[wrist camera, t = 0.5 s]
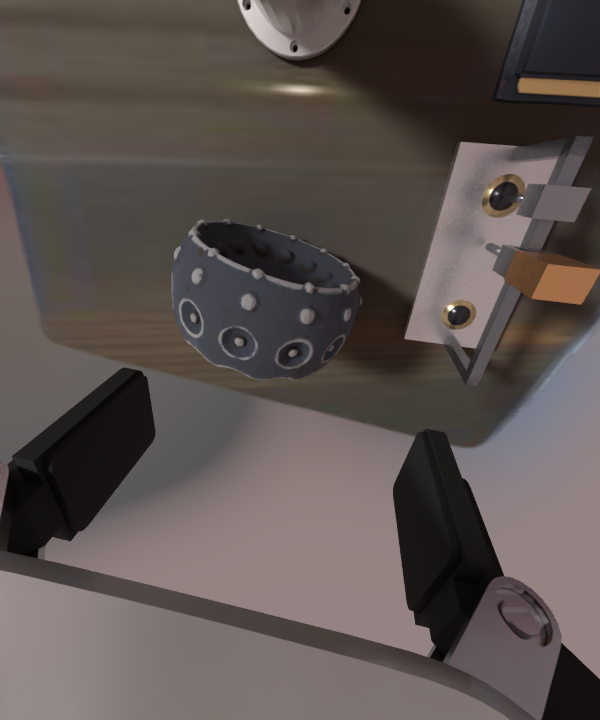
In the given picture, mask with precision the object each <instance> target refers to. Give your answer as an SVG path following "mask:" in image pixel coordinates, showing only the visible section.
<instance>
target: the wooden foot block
mask: <svg viewBox="0 0 600 720" xmlns="http://www.w3.org/2000/svg"><path fill="white" fill-rule="evenodd" d="M519 247H520V246H512V245H502V246H501V247H500V246H498V245H496V244H494V243H488V244H487V245H486V247H485V249H486V250H487V251H489V252H491V253H493V254H494V255H496V256H497V259H496V261H495V264H494V266H493V269H492V270H493V271H494V272H496V273H497V274H499V275H500V276H502V277H503V278H504V281H506V282H507V283H509V284H510V285H512V286H513V287H515V288H516V289H518V290H519V291H521V292H522V293H523V294H525V295H526V296H528V297H529V298H531V299H538V300H547V301H555V302H563V303H572V304H580V305H581V304H582V303H583V301H584V299H585V298H586V296H587V294H588V293H589V291H590V289H591V287H592V286H593V284H594V282H595V281H596V279H597V277H598V276H599V274H600V269H598V268H595V267H593V266H590V265H587V264H585V263H582V262H579V261H577V260H574V259H571V258H568V257H566V256H563V255H559V254H553V253H550V252H547V251H545V250H542V249H541V251H540V252H530V251H522V250H520V249H519Z"/></svg>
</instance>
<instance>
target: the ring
mask: <svg viewBox="0 0 600 720" xmlns="http://www.w3.org/2000/svg"><path fill="white" fill-rule="evenodd" d="M174 260H175V261H174V265H173V270H172V304H173V312H174V316H175V319H176V322H177V325H178V327H179V329H180V331H181V333H182V335H183V337H184V339H185V340H186V342H187V343H188V344H190V345H192V346H193V347H194V348H195V349H196V350H197V351H198V352H200V353H201V354H202V355H203V356H204V357H205V358H206V360H207V361H209V362H211V363H212V364H214V365H216V366H218V367H226V368H231V369H234V370H237V371H240V372H242V373H244V374H245V375H247V376H248V377H250V378H252V379H257V380H266V379H271V378H287V379H290V380H297V379H301V378H303V377H306V376H308V375H310V374H312V373H314V372H316V371H318V370H320V369H321V368H322V367H324V366H325V365H326V364H327V363H328V362H330V361H331V360H332V358H333V357H334V356H335V355H336V354H337V353H338V352H339V350H340V349H341V347H342V346H343V345H344V343H345V341H346V340H347V338H348V336H349V334H350V332H351V330H352V327H353V324H354V321H355V318H356V313H357V310H358V308H359V307H360V306H361V303H362V298H361V296H360V294H359V286H358V285H359V283H360V279H359V277H358V276H356V275H355V273H354V272H353V271H352V270H351V269H350V265H349V264H348V263H343V262H342V261H340V260H339V259H337V258H336V257H334V256H332V255H331V254H329V253H328V252H327V250H326V249H324V248H323V249H320V248H318V247H315V246H313V245H311V244H308V243H306V242H304V241H301V240H299V239H297V237H296V236H294V235H290V236H288V235H285V234H282V233H278V232H275V231H272V230H269V229H265V228H264V227H263V226H261V225H257V226H252V225H248V224H242V223H236V222H231V221H230V220H229V219H225V220H223V221H207V222H206V221H205V220H199V221H198V223H197V225H195V226H194V227H193V228H192V229H191V230H190V232H189V233H188V234H187V236H186V237H185V239H184V240H183V242H182V244H181V246H179V247H178V248H177V249H176V250H175V253H174Z"/></svg>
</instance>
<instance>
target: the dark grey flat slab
mask: <svg viewBox="0 0 600 720" xmlns="http://www.w3.org/2000/svg"><path fill="white" fill-rule="evenodd" d="M493 100H495V101H503V102H511V103H547V104H563V105H580V106H596V107H600V0H523V2H522V6H521V9H520V12H519V15H518V18H517V21H516V24H515V28H514V31H513V34H512V37H511V40H510V43H509V47H508V50H507V53H506V56H505V59H504V63H503V66H502V70H501V73H500V77H499V80H498V83H497V87H496V90H495V93H494V96H493Z"/></svg>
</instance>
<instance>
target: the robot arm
mask: <svg viewBox="0 0 600 720" xmlns="http://www.w3.org/2000/svg"><path fill="white" fill-rule="evenodd" d="M361 1H362V0H237V2H238V5H239V8H240V10H241V13H242V15H243V17H244V19H245V21H246V23H247V25H248V27H249V28H250V30H251V31H252V33H253V34H254V36H255V37H256V38H257V39H258V40H259V41H260V42H261V44H262V45H263V46H264V47H265V48H267V49H268V50H269V51H271V52H272V53H274V54H275V55H277V56H280V57H282V58H285V59H289V60H297V61H299V60H306V59H311V58H313V57H316V56H318V55H321V54H322V53H324V52H325V51H327V50H328V49H330V48H331V47H332V46H333V45H334V44H335V43H336V42H337V41H338V40H339V39H340V38H341V37H342V36H343V35H344V33H345V32H346V30H347V29H348V27H349V26H350V24H351V23H352V21H353V19H354V17H355V15H356V13H357V11H358V9H359V7H360V4H361ZM248 5H251V8H250V9H249V10H247V6H248ZM346 9H349V10H350V13H349V14H348V15H346V14H345V13H344V12H345V10H346ZM294 47H298V50H297V52H293V49H294ZM154 437H155V426H154V419H153V413H152V406H151V400H150V393H149V387H148V380H147V377H146V376H144V375H143V373H142V372H141V371H138V370H133V369H129V368H122V369H120V370H119V371H117V372H116V373H115V374H114V375H112V376H111V377H110V378H109V379H108V380H106V381H105V382H104V383H103V384H101V385H100V386H99V387H98V388H96V389H95V390H94V391H93V392H92V393H90V394H89V395H88V396H86V397H85V398H84V399H83V400H82V401H80V402H79V403H78V404H76V405H75V406H74V407H73V408H71V409H70V410H69V411H68V412H66V413H65V414H64V415H63V416H62V417H60V418H59V419H58V420H57V421H55V422H54V423H53V424H51V425H50V426H49V427H48V428H47V429H45V430H44V431H43V432H42V433H40V434H39V435H38V436H37V437H35V438H34V439H33V440H32V441H30V442H29V443H28V444H27V445H25V446H24V447H23V448H22V449H20V450H19V451H18V452H17V453H15V454H14V455H13V456H12V458H13V460H12V461H11V462H10V463H9V464H7V465H6V464H5V463H4V462H1V461H0V720H600V679H599V678H598V677H597V676H596V675H595V674H594V673H593V672H592V671H590V670H589V669H588V668H587V667H586V666H585V665H584V664H583V663H582V662H581V661H580V660H579V659H578V658H577V657H576V656H575V655H574V654H573V653H572V652H571V651H569V650H568V649H567V648H566V647H565V646H564V645H563V644H562V643H561V633H560V629H559V626H558V623H557V621H556V619H555V618H554V615H553V614H552V611H551V610H550V609H549V607H548V606H547V605H546V603H545V602H544V601H543V599H541V597H539V596H538V595H537V594H536V593H535V592H534V591H533V590H532V589H531V588H529V587H528V586H527V585H525V584H524V583H522V582H520V581H518V580H516V579H514V578H511V577H505V576H504V574H503V572H502V569H501V566H500V564H499V561H498V558H497V556H496V553H495V551H494V548H493V546H492V543H491V540H490V538H489V535H488V532H487V530H486V527H485V524H484V522H483V519H482V517H481V514H480V511H479V509H478V506H477V504H476V501H475V498H474V496H473V493H472V491H471V488H470V486H469V484H468V482H467V481H466V480H465V479H463V478H462V477H461V474H460V471H459V469H458V466H457V463H456V460H455V458H454V455H453V452H452V449H451V447H450V444H449V441H448V439H447V436H446V434H445V433H444V432H439V431H434V430H429V429H425V430H424V431H423V433H422V432H418V433H417V435H416V437H415V440H414V442H413V444H412V446H411V448H410V451H409V453H408V455H407V457H406V459H405V462H404V464H403V466H402V468H401V470H400V473H399V475H398V477H397V479H396V481H395V483H394V488H393V498H394V506H395V514H396V521H397V529H398V537H399V545H400V553H401V561H402V568H403V576H404V584H405V592H406V600H407V605H408V608H409V610H411V611H414V618H415V624H416V625H419V626H423V627H427V628H429V629H430V635H431V640H432V642H433V643H434V645H433V647H432V649H431V651H430V652H429V654H428V656H427V657H425V656H422V655H419V654H416V653H413V652H410V651H406V650H403V649H399V648H395V647H392V646H388V645H384V644H381V643H377V642H373V641H370V640H366V639H362V638H359V637H355V636H351V635H348V634H344V633H340V632H336V631H332V630H328V629H324V628H320V627H316V626H312V625H308V624H304V623H300V622H296V621H292V620H288V619H284V618H280V617H276V616H272V615H268V614H264V613H261V612H256V611H252V610H248V609H244V608H240V607H236V606H232V605H228V604H224V603H220V602H216V601H212V600H208V599H204V598H200V597H196V596H192V595H187V594H184V593H180V592H176V591H171V590H168V589H164V588H159V587H155V586H151V585H147V584H143V583H139V582H135V581H131V580H126V579H122V578H118V577H114V576H110V575H106V574H102V573H98V572H93V571H89V570H85V569H81V568H77V567H73V566H68V565H64V564H60V563H56V562H51V561H47V560H45V547H46V544H47V542H48V541H49V540H50V539H51V538H52V537H56V538H59V539H63V540H68V541H71V540H72V539H73V538H74V536H75V535H76V534H77V533H78V531H82V530H84V529H85V528H86V527H87V526H88V525H89V523H90V522H91V521H92V520H93V518H94V517H95V516H96V515H97V513H98V512H99V511H100V509H101V508H102V507H103V505H104V504H105V503H106V502H107V500H108V499H109V497H110V496H111V495H112V494H113V493H114V491H115V490H116V489H117V487H118V486H119V485H120V483H121V482H122V481H123V480H124V478H125V477H126V475H127V474H128V473H129V472H130V470H131V469H132V468H133V467H134V465H135V464H136V463H137V461H138V460H139V459H140V458H141V456H142V455H143V454H144V452H145V451H146V450H147V448H148V447H149V446H150V445H151V443H152V442H153V440H154Z"/></svg>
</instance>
